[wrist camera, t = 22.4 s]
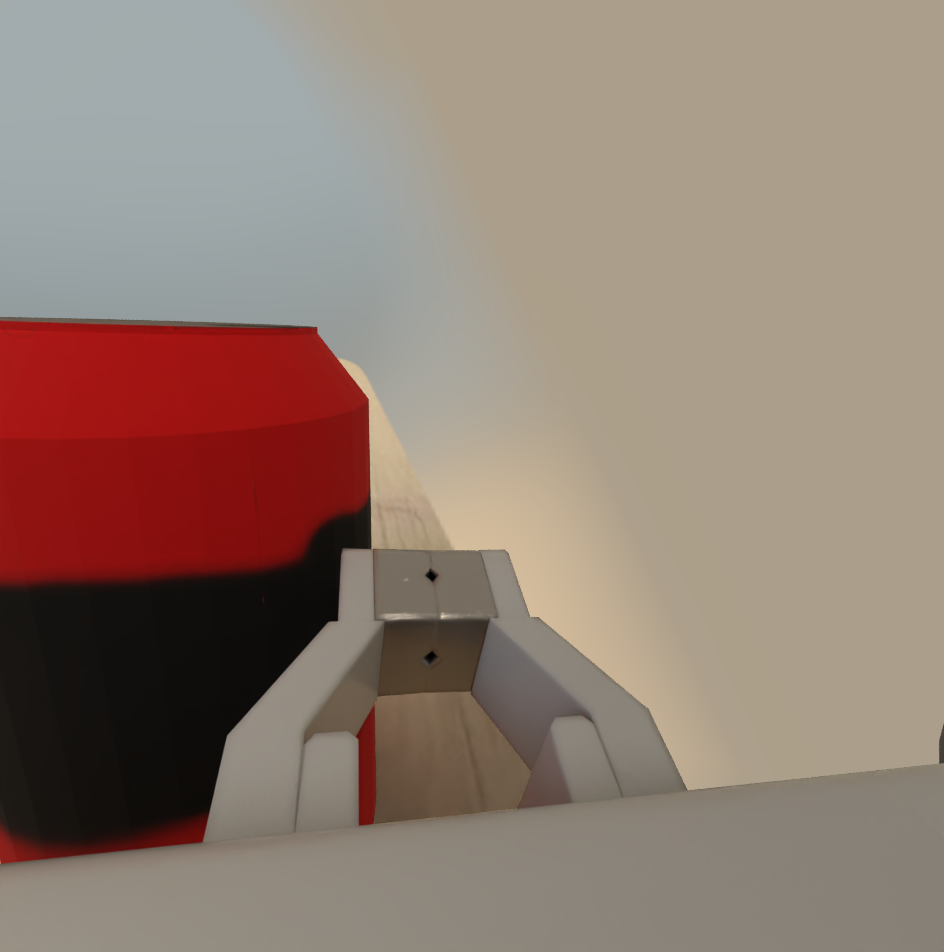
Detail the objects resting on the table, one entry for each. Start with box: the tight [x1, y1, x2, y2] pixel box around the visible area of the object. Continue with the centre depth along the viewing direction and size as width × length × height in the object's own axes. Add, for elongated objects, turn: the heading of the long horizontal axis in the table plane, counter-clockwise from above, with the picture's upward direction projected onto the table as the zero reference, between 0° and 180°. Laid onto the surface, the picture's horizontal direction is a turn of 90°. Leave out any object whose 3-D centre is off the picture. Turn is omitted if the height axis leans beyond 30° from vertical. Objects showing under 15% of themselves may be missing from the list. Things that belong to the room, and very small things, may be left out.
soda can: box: [0, 317, 376, 864], centre depth 11 cm, size 8×8×12 cm
